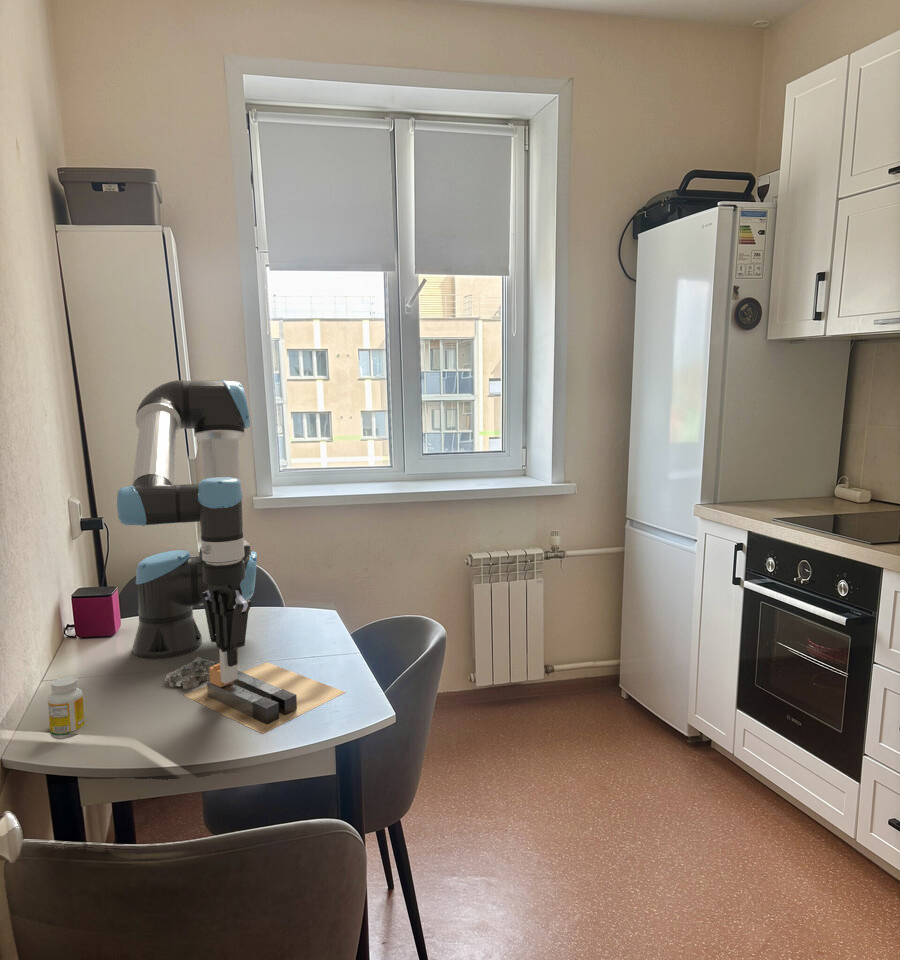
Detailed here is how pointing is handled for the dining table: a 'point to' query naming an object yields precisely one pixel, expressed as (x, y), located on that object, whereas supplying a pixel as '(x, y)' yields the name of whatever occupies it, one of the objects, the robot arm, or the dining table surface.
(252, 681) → the bar
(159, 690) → the dining table surface
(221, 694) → the tongs fixed
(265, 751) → the dining table surface
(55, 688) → the supplement bottle
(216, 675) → the tab
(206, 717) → the dining table surface
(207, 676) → the grey lumpy stone piece
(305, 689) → the board
